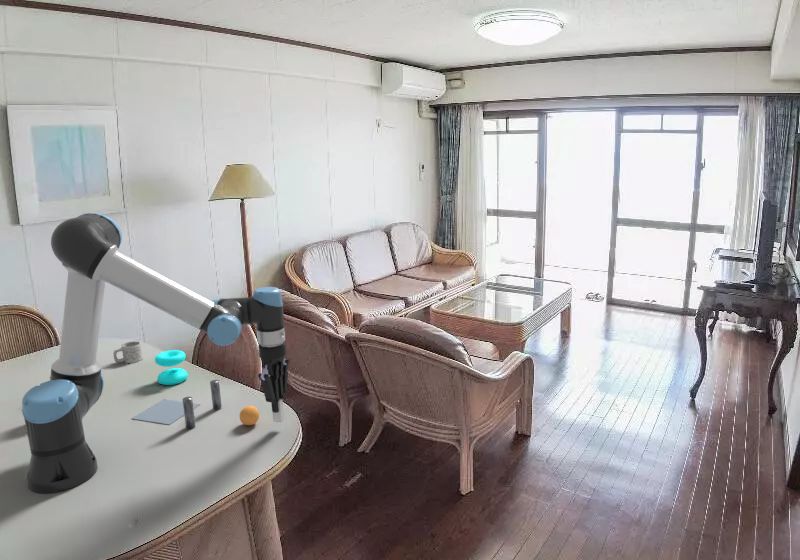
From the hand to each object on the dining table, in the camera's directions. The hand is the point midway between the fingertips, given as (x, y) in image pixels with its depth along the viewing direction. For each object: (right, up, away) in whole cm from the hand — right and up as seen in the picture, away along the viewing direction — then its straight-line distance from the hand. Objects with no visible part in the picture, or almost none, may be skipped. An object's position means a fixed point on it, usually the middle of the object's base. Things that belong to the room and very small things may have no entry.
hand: (278, 420), depth 165 cm
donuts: (-45, +5, +37) cm, 59 cm away
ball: (-9, +1, +3) cm, 10 cm away
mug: (-70, +9, +57) cm, 91 cm away
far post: (-22, 0, +15) cm, 27 cm away
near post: (-26, -3, +3) cm, 27 cm away
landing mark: (-37, 0, +13) cm, 40 cm away
